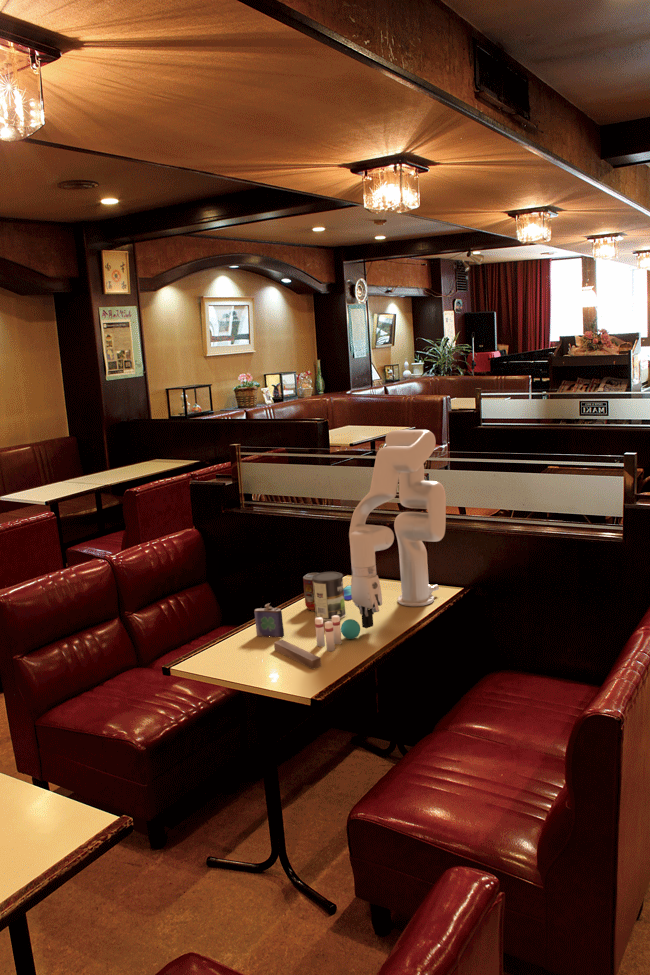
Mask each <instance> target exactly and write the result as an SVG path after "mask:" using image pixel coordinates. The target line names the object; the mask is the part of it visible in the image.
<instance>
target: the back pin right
mask: <svg viewBox="0 0 650 975" xmlns="http://www.w3.org/2000/svg"><path fill="white" fill-rule="evenodd" d="M314 626H315V627H314V628H315V637H316V646H317V647H318V646H319V648H322V647H321V646H323V647H325V646H326V639H325V627H324V621H323V618H321V617H318V618H316V617H315V618H314Z"/></svg>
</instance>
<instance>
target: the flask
mask: <svg viewBox="0 0 650 975" xmlns="http://www.w3.org/2000/svg"><path fill="white" fill-rule="evenodd" d="M270 604H271V602H270V603H269V602H268V603H266V604H265V605H264V608H262V607H260V608H255V609H254V610H253V611H254V620H255V629H256V630H255V631H256V637H257V636H258V637H259V638H276V637H277V638H278V637H281V638H284V637H285V628H284V621H283V612H282V609H281V608H278V607H272V606H271V605H270ZM269 636H270V637H269ZM283 636H284V637H283Z"/></svg>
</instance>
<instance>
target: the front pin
mask: <svg viewBox="0 0 650 975" xmlns="http://www.w3.org/2000/svg"><path fill="white" fill-rule="evenodd" d="M331 622H333V633H334V645H335V644H339V645H342V643H343V642H342V633H341V619H340V617H339V616H338V615H334V616H332V621H331Z"/></svg>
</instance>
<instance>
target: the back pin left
mask: <svg viewBox="0 0 650 975" xmlns="http://www.w3.org/2000/svg"><path fill="white" fill-rule="evenodd" d="M324 635H325V646H326V651H327V652H334V651H335V650H336V647H335V646H336V645H335V644H334V633H333V622H332V621H324Z"/></svg>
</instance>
